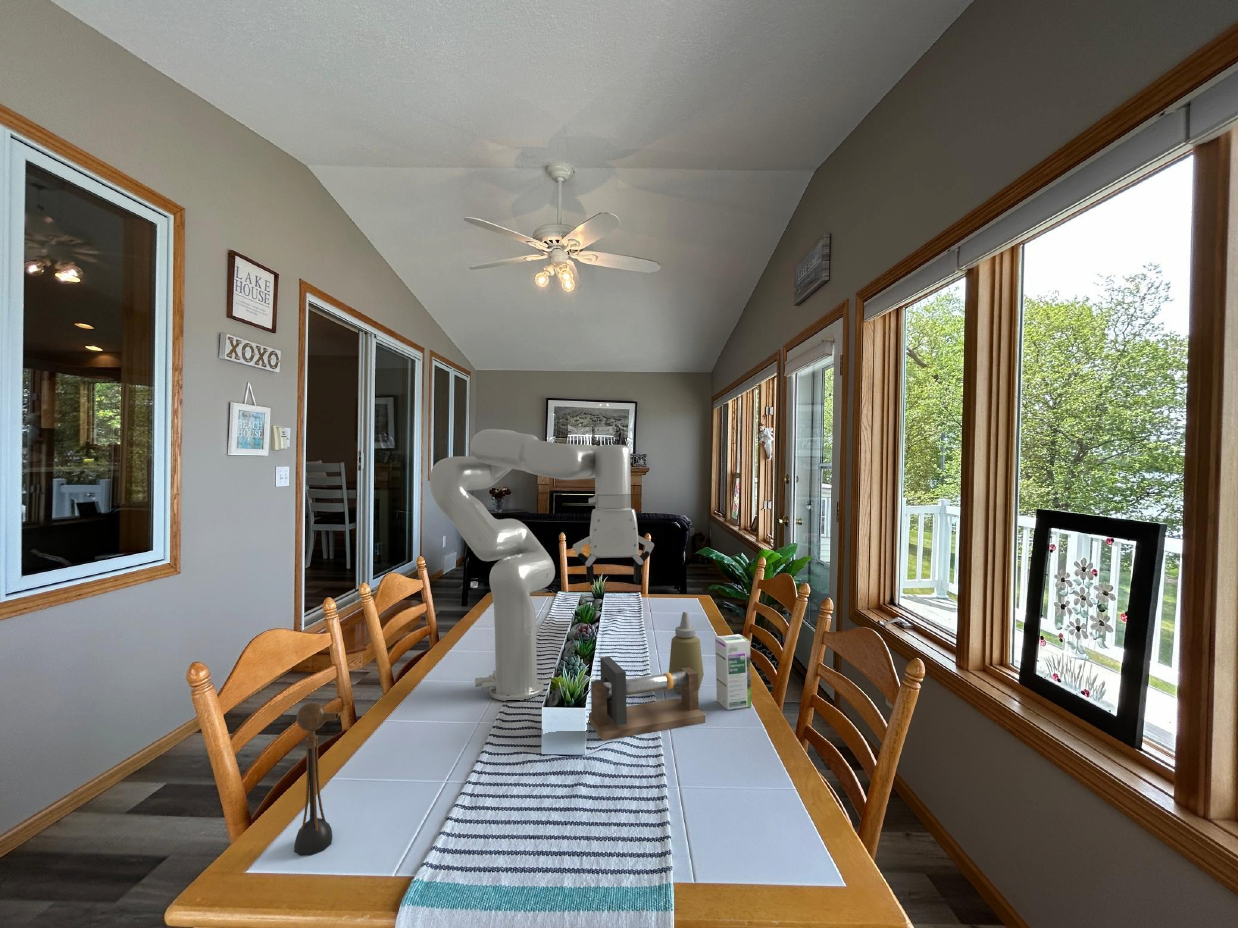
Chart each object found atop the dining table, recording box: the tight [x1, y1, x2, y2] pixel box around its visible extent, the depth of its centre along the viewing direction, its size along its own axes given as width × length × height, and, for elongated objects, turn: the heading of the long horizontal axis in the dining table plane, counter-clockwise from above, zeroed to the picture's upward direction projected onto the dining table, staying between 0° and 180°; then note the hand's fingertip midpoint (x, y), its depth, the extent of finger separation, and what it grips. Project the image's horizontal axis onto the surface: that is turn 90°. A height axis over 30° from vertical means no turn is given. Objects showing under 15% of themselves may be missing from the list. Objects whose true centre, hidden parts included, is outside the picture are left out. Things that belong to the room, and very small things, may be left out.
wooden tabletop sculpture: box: [293, 701, 339, 857], centre depth 84 cm, size 6×5×20 cm
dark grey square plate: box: [599, 656, 627, 725], centre depth 120 cm, size 2×10×10 cm, turn 19°
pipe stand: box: [588, 667, 706, 742], centre depth 122 cm, size 22×10×9 cm, turn 110°
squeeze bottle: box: [668, 611, 705, 694], centre depth 139 cm, size 8×8×18 cm
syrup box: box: [714, 633, 752, 711], centre depth 130 cm, size 6×6×14 cm
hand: (614, 583), depth 127 cm, fingers open, 9 cm apart
